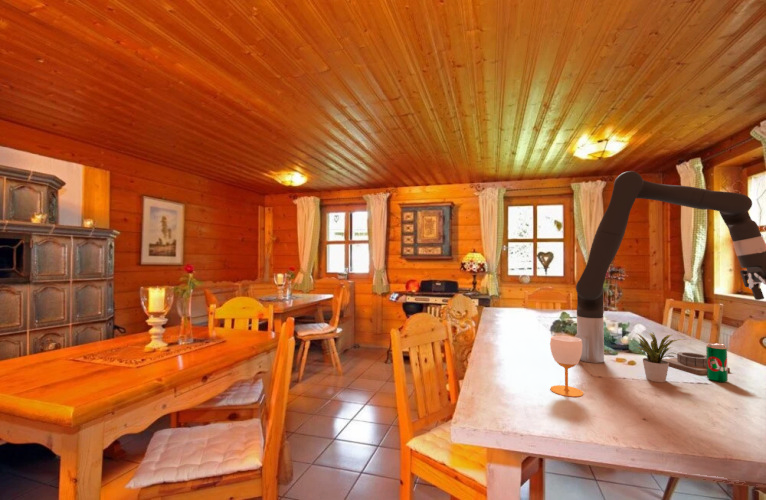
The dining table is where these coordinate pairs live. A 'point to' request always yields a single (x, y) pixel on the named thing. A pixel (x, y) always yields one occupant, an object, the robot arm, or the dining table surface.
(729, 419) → the dining table surface
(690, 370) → the can holder
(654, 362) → the house plant
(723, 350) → the soda can
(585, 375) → the dining table surface
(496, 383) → the dining table surface
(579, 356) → the cup
